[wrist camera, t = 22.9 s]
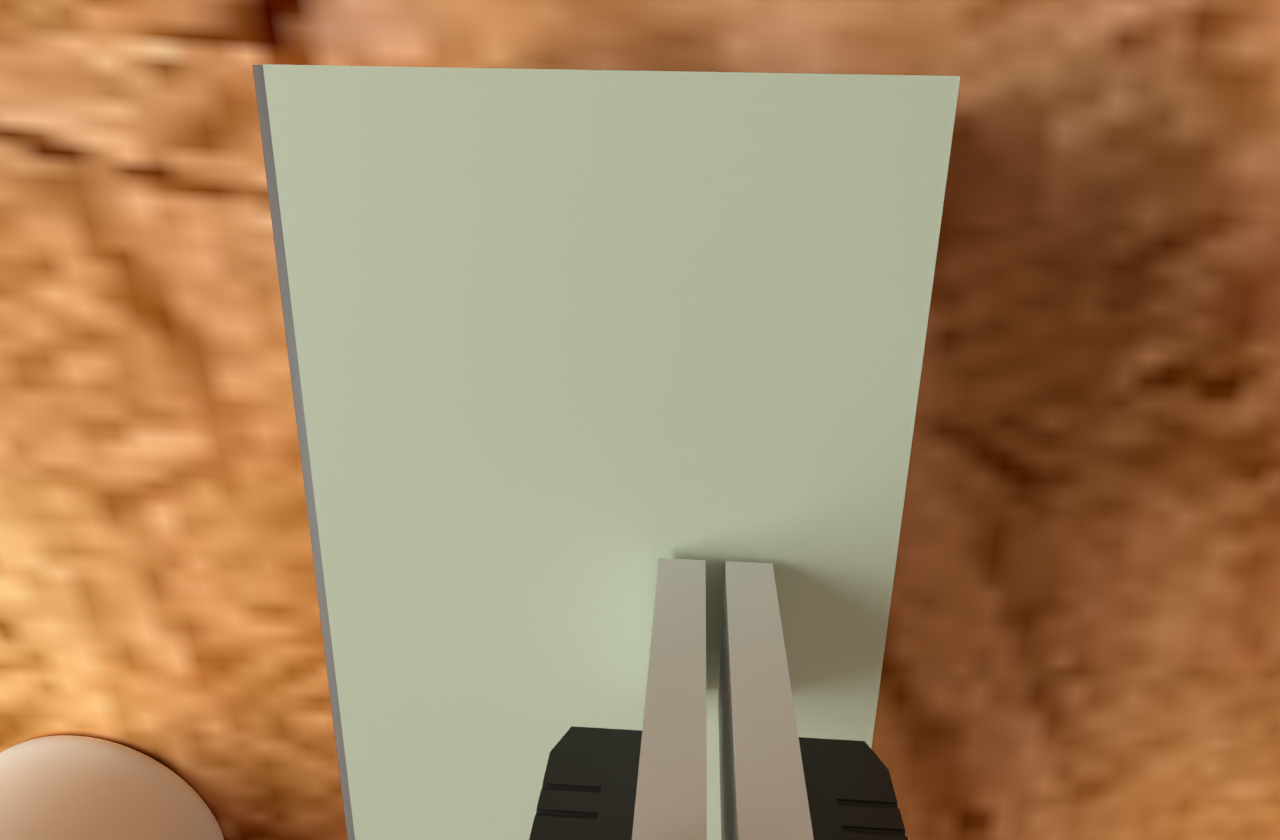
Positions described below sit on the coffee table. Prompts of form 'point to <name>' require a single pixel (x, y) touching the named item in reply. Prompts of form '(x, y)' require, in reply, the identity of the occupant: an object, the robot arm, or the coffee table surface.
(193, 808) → the mug
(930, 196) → the lid
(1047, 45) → the coffee table surface
